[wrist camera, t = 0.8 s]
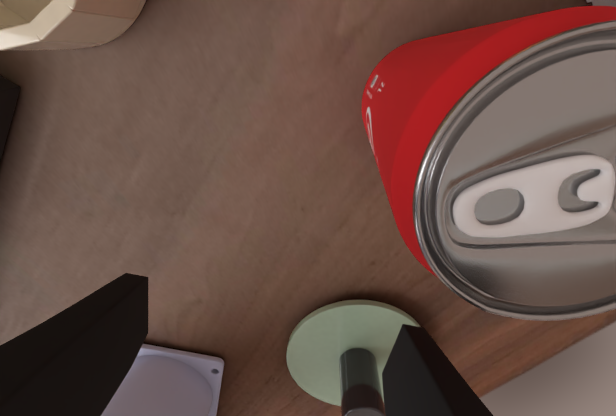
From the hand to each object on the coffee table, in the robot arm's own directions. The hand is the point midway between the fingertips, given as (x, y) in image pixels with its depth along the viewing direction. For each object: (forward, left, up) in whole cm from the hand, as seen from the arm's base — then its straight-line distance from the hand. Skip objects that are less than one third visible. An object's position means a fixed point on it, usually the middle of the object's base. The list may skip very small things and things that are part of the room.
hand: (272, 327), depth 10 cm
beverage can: (+6, -5, -10) cm, 12 cm away
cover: (-10, -6, -9) cm, 15 cm away
